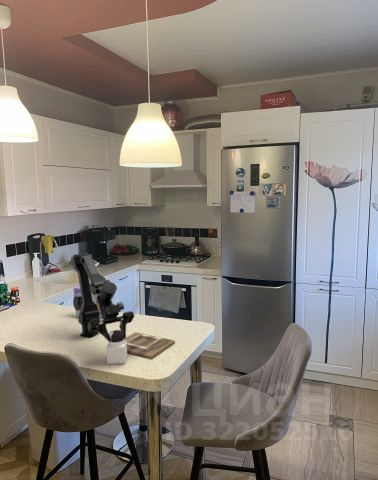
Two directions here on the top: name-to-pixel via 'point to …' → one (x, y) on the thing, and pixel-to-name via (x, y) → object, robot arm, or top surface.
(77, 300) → the cake pan box
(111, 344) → the medicine bottle
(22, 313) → the top surface
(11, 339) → the top surface
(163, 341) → the walnut stand
